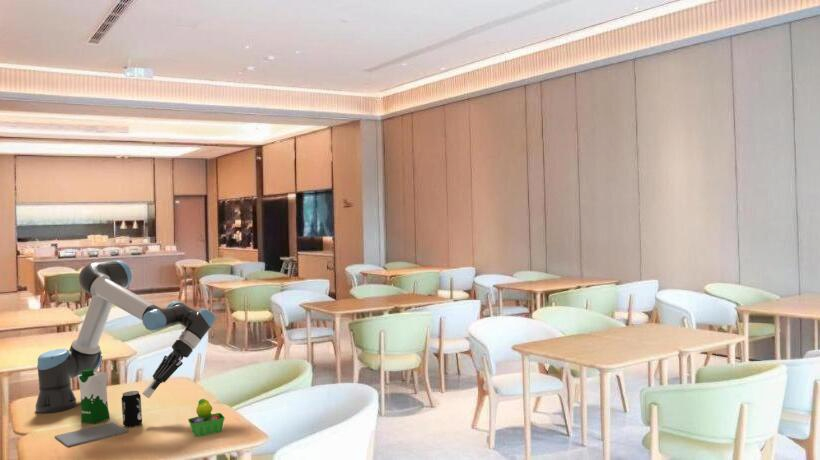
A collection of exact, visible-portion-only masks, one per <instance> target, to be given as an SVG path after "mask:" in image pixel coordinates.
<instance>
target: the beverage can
mask: <svg viewBox="0 0 820 460" xmlns="http://www.w3.org/2000/svg"><path fill="white" fill-rule="evenodd" d="M141 396H142V395H141V394H140V391H138V390H131V391H126V392H123V393H122V396H121V412H122V425H123V426H124V427H125V428H134V427H139V426H140V425H141V424H142V423H143V414H142V411H143V410H142V398H141Z"/></svg>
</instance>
